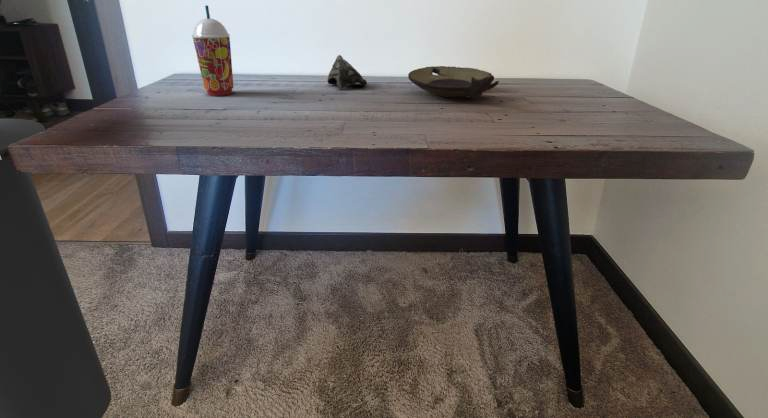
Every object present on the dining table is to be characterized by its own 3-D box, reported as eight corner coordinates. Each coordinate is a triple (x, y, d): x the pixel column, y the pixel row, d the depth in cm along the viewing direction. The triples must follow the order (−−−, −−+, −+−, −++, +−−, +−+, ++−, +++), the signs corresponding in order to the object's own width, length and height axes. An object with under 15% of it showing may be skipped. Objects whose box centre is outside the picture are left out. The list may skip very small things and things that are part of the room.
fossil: (376, 85, 118) (362, 51, 112) (351, 104, 116) (335, 71, 110) (355, 77, 126) (340, 46, 120) (331, 96, 124) (315, 65, 117)
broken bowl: (487, 86, 122) (490, 57, 119) (509, 112, 96) (514, 76, 92) (407, 84, 123) (408, 55, 120) (407, 109, 97) (408, 73, 93)
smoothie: (195, 93, 108) (180, 5, 100) (225, 89, 114) (213, 5, 105) (214, 98, 104) (199, 6, 95) (244, 93, 109) (232, 5, 101)
